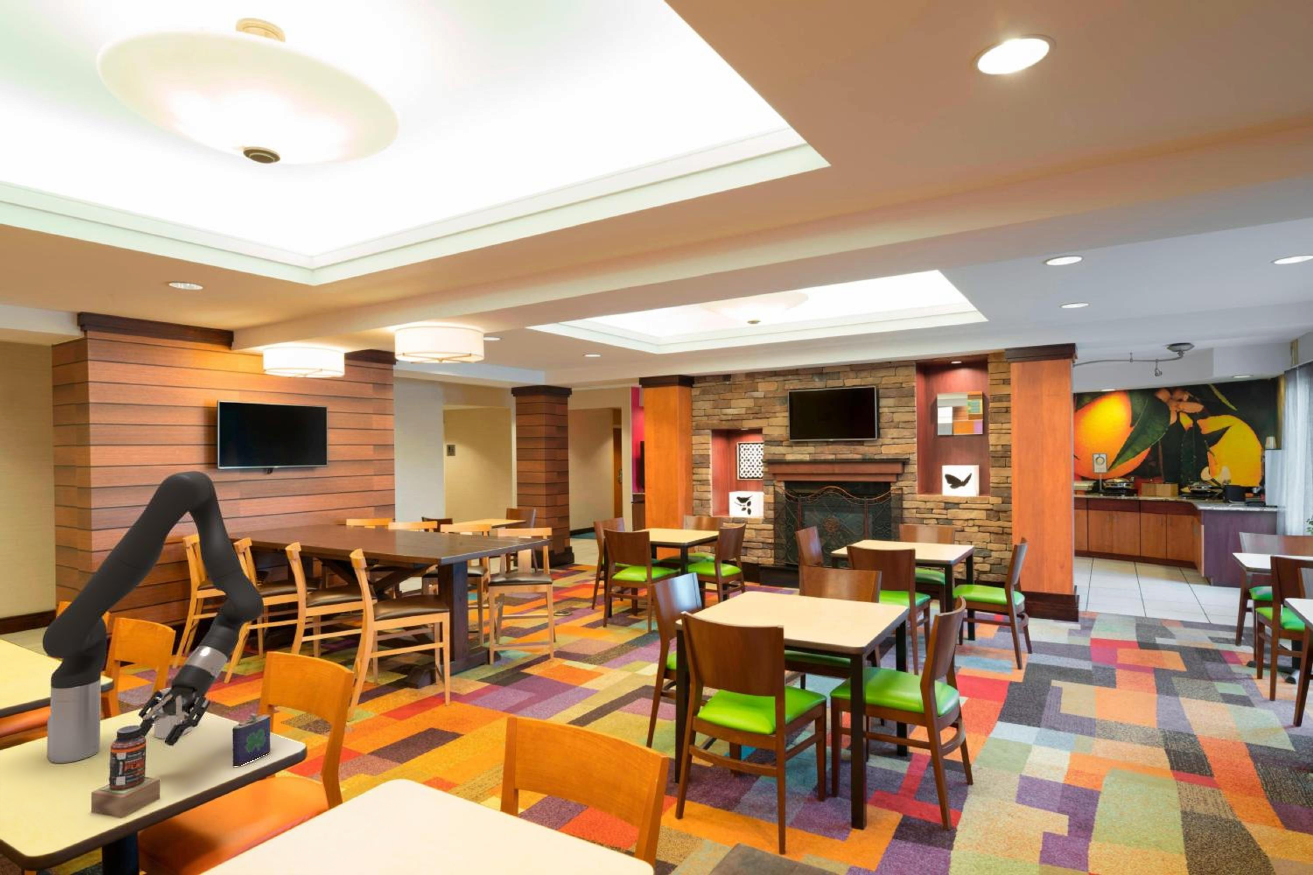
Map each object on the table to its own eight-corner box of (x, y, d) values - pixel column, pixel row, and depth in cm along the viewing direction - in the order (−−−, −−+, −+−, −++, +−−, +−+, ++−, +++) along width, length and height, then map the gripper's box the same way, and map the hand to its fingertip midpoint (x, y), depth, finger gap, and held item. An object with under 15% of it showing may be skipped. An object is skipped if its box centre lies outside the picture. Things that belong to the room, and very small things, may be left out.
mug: (154, 730, 182) (155, 689, 182) (191, 723, 187) (191, 684, 187) (153, 747, 172) (154, 704, 172) (192, 740, 177) (192, 697, 177)
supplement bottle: (125, 792, 142) (126, 735, 142) (101, 789, 143) (102, 732, 143) (152, 778, 147) (153, 724, 148) (129, 775, 149) (130, 721, 149)
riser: (91, 812, 142) (91, 791, 142) (129, 793, 150) (130, 773, 150) (122, 817, 140) (122, 796, 140) (159, 797, 148) (160, 777, 148)
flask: (265, 750, 171) (266, 705, 171) (274, 752, 170) (274, 707, 170) (229, 766, 163) (229, 719, 163) (238, 768, 161) (238, 721, 161)
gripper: (165, 660, 161) (114, 730, 150) (215, 665, 157) (167, 738, 146) (185, 676, 166) (138, 745, 155) (235, 681, 162) (190, 753, 151)
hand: (152, 741), depth 150 cm, fingers open, 8 cm apart
